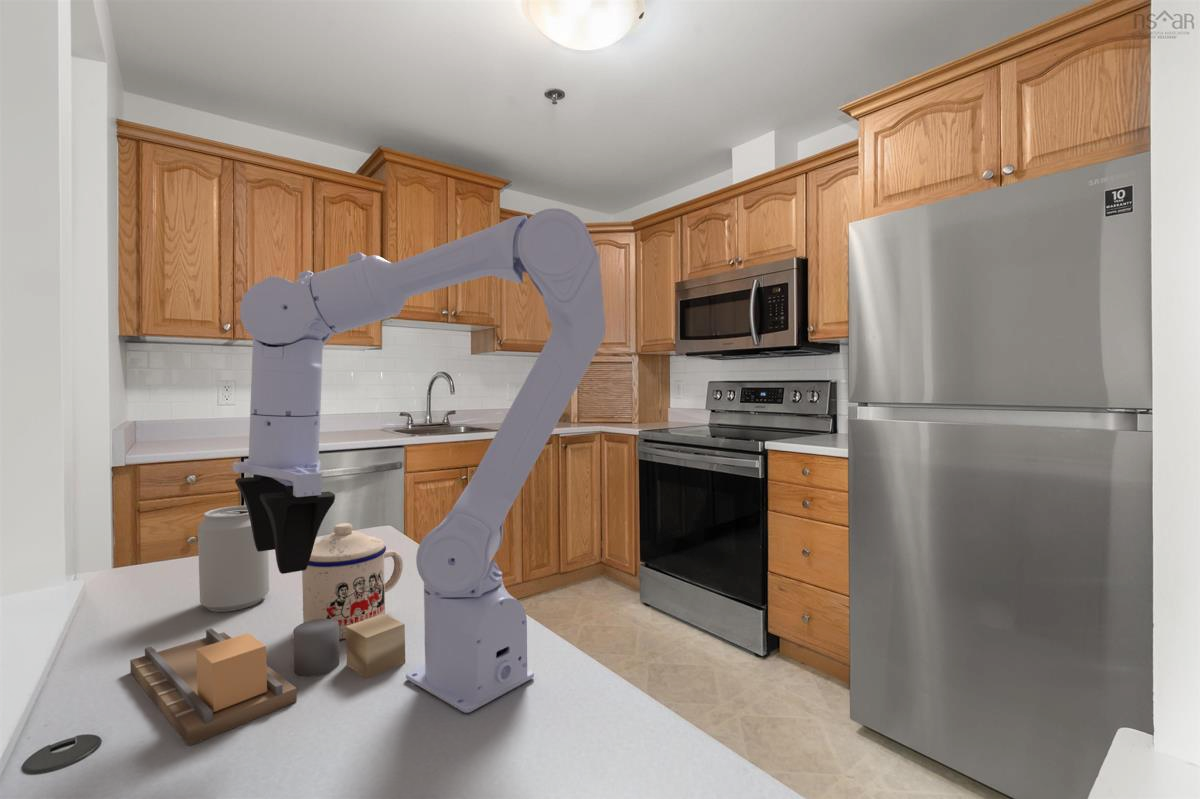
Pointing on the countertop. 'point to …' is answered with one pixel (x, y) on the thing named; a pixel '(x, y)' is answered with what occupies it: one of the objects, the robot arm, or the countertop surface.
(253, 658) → the slider
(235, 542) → the can
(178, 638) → the countertop surface
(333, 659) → the charcoal cylinder
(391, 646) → the oak block
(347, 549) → the teacup with lid
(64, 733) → the countertop surface
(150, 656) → the board
